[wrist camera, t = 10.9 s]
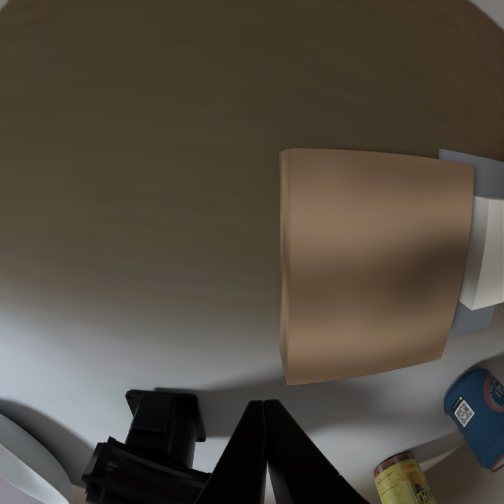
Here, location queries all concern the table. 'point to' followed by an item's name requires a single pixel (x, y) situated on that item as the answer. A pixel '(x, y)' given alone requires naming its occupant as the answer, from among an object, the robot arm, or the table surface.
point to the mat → (485, 184)
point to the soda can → (478, 415)
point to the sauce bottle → (402, 481)
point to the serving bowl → (31, 466)
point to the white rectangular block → (485, 255)
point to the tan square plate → (368, 260)
